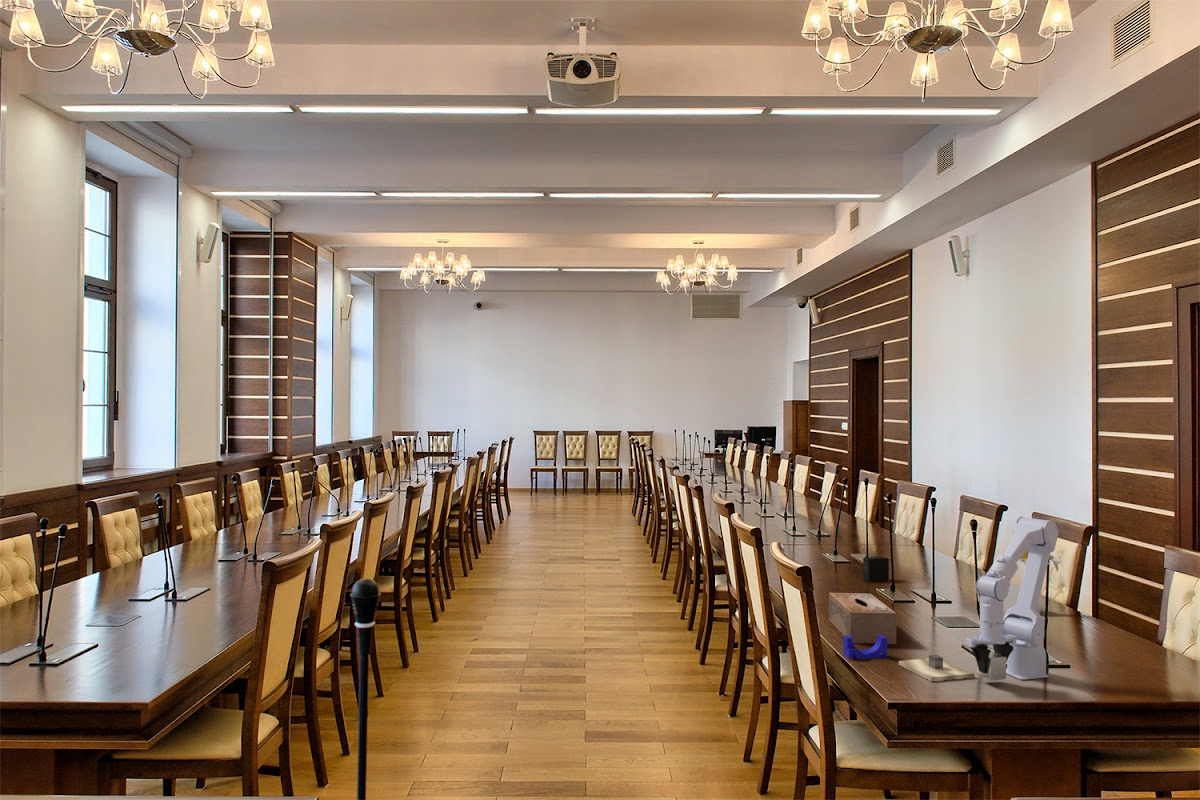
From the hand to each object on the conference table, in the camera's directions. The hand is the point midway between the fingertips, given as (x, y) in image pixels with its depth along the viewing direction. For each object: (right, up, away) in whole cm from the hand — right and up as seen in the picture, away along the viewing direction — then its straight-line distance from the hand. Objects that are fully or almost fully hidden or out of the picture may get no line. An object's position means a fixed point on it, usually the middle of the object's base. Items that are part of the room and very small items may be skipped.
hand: (991, 671), depth 211 cm
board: (-11, -3, +9) cm, 15 cm away
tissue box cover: (-19, -4, +48) cm, 52 cm away
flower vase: (+54, -5, +76) cm, 93 cm away
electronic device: (+13, -5, +125) cm, 126 cm away
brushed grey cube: (0, -2, 0) cm, 2 cm away
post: (-11, -2, +9) cm, 15 cm away
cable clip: (-27, -4, +21) cm, 34 cm away
